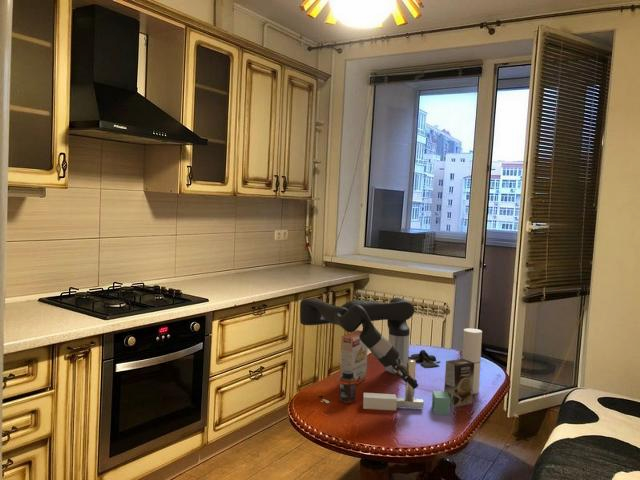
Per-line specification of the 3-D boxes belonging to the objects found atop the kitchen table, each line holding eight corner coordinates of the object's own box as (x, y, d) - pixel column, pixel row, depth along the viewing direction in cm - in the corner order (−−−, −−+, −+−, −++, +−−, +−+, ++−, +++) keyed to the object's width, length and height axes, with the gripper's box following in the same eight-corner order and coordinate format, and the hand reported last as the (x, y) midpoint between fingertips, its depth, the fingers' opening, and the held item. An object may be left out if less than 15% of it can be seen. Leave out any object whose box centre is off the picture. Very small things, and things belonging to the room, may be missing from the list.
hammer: (369, 405, 189) (371, 360, 188) (369, 402, 193) (371, 357, 191) (423, 408, 188) (425, 362, 187) (422, 405, 191) (424, 360, 190)
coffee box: (454, 407, 193) (456, 365, 191) (443, 401, 198) (445, 360, 197) (472, 404, 197) (475, 362, 196) (461, 398, 202) (463, 357, 201)
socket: (434, 413, 186) (435, 397, 186) (431, 406, 193) (432, 390, 193) (449, 414, 186) (450, 398, 185) (445, 407, 193) (446, 391, 192)
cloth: (435, 371, 236) (436, 358, 236) (397, 363, 246) (398, 351, 246) (450, 360, 255) (451, 347, 255) (415, 353, 265) (415, 341, 264)
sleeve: (363, 408, 189) (363, 397, 189) (363, 403, 194) (363, 392, 193) (396, 410, 188) (396, 399, 188) (395, 405, 193) (395, 394, 193)
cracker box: (351, 389, 208) (353, 338, 207) (338, 386, 212) (340, 335, 210) (367, 379, 220) (369, 331, 219) (354, 376, 224) (356, 329, 222)
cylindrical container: (479, 394, 207) (483, 333, 205) (461, 392, 208) (464, 331, 207) (477, 388, 214) (481, 329, 212) (460, 386, 215) (463, 327, 214)
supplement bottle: (357, 399, 198) (358, 370, 197) (352, 405, 192) (353, 375, 191) (342, 397, 200) (343, 368, 199) (337, 402, 194) (338, 373, 193)
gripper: (375, 352, 197) (406, 385, 197) (377, 363, 183) (410, 399, 183) (390, 339, 196) (421, 372, 196) (392, 349, 182) (426, 385, 182)
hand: (415, 385), depth 189 cm, fingers closed on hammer, 3 cm apart
